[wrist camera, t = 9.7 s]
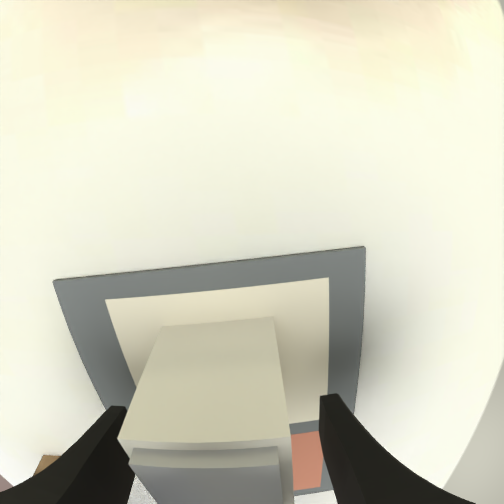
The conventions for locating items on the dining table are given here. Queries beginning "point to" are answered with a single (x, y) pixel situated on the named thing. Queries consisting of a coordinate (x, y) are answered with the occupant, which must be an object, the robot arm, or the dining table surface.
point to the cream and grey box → (212, 417)
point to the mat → (229, 309)
